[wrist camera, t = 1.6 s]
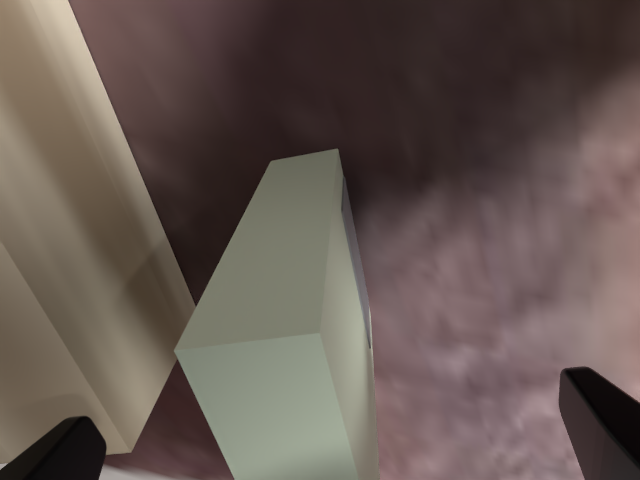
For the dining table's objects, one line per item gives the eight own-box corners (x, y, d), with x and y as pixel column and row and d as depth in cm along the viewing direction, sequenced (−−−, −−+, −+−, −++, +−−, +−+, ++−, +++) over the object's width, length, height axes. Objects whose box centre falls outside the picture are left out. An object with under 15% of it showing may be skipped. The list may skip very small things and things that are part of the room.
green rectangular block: (339, 148, 13) (323, 333, 6) (372, 314, 15) (387, 578, 8) (269, 161, 13) (170, 351, 6) (312, 321, 16) (280, 581, 9)
